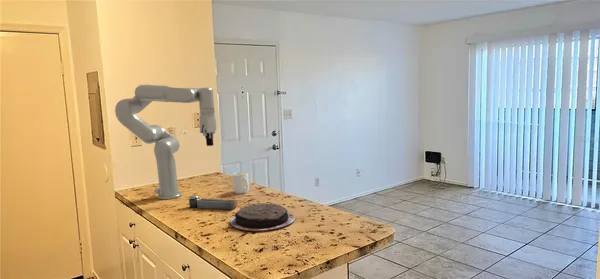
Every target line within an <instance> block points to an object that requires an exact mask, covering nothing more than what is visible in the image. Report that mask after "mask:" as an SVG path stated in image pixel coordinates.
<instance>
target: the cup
mask: <svg viewBox="0 0 600 279" xmlns="http://www.w3.org/2000/svg"><path fill="white" fill-rule="evenodd" d="M232 180H233V181H232V183H233V192H234V193H235V194H247V193H249V191H250V186H249V185H250V184H249V172H246V171H238V172H234V173H232Z"/></svg>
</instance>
